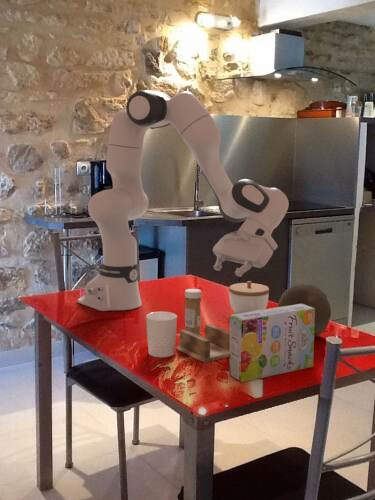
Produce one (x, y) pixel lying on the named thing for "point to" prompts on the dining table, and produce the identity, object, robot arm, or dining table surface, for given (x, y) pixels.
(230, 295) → the lidded white jar
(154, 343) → the white cup
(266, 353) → the snack box
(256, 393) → the dining table surface
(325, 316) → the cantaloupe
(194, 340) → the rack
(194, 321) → the sprinkles bottle
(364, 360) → the dining table surface
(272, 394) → the dining table surface
